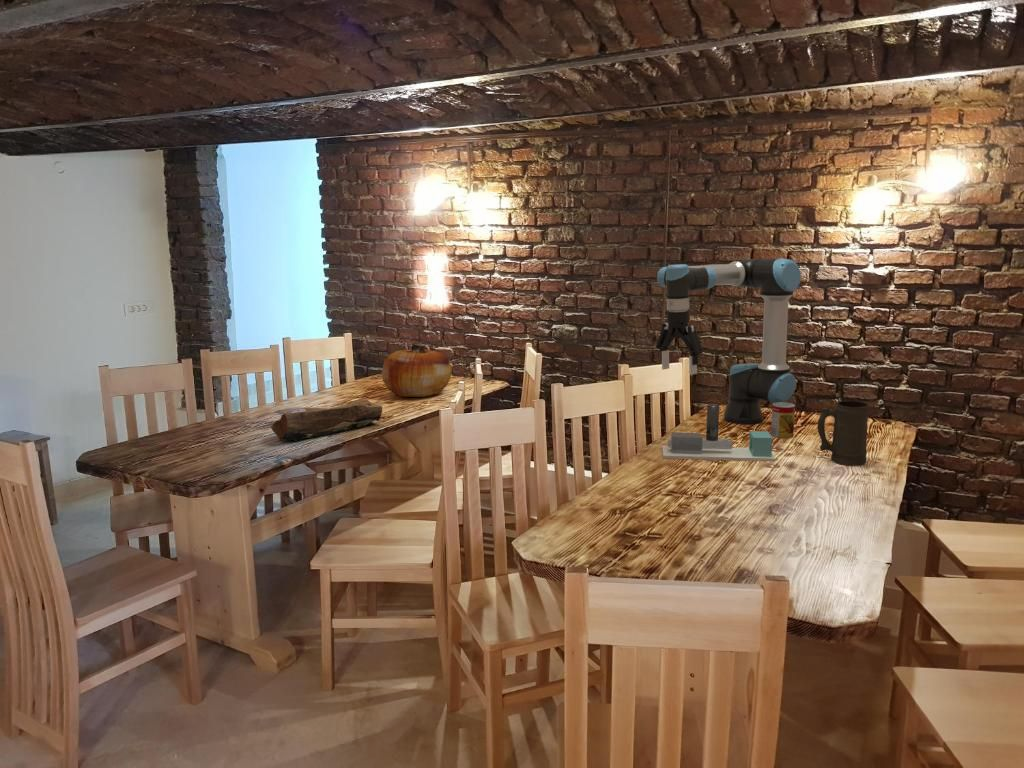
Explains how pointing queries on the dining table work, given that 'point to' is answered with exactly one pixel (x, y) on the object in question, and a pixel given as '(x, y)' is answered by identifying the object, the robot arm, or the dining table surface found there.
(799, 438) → the dining table surface
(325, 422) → the log
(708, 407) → the grey black upright frame
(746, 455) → the baseboard
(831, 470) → the dining table surface
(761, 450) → the socket
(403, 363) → the pumpkin
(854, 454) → the beer stein
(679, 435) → the sleeve
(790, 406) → the canned food
